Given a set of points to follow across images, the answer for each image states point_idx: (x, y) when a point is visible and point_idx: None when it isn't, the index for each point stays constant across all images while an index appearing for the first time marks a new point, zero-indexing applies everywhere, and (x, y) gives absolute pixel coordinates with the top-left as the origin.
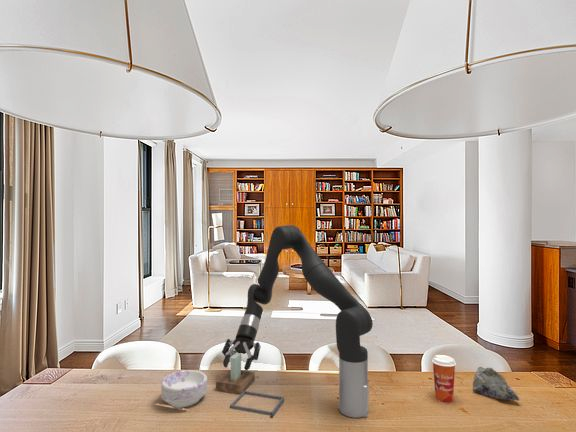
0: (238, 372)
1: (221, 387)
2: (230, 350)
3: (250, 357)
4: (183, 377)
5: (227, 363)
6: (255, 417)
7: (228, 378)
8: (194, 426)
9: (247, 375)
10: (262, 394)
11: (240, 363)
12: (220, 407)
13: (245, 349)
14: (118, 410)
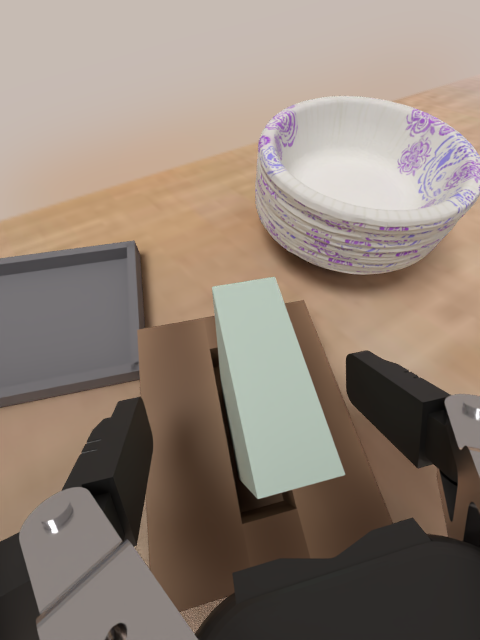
0: (231, 425)
1: None
2: None
3: (41, 508)
4: (432, 203)
5: (367, 401)
6: None
7: None
8: (189, 166)
9: (178, 496)
10: (14, 386)
11: (243, 471)
12: (186, 255)
13: (161, 615)
14: None
